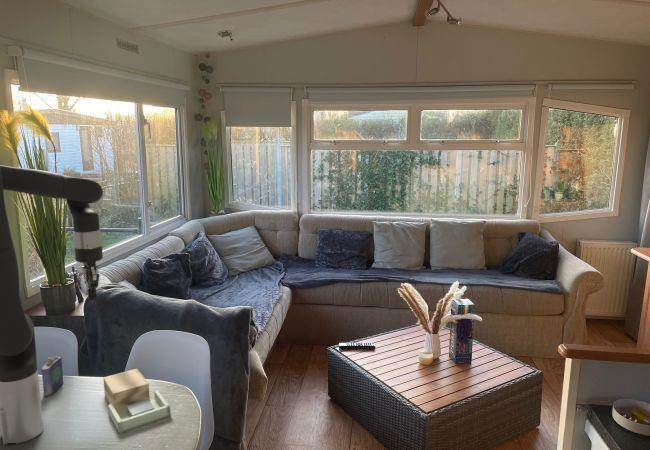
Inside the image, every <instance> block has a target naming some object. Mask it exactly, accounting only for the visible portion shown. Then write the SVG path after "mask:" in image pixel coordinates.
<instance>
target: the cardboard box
mask: <svg viewBox="0 0 650 450" xmlns="http://www.w3.org/2000/svg"><path fill="white" fill-rule="evenodd" d="M102 378H103V391H104V392H103V393H104V397H105V399H106V400H107V403H108V405H110V404H112V405H113V407H114V408H115V410H116V411H117V410H121V409H124V408H126V406H127V405H130V404H133V403H136V402H139V401H143V400H146V399H148V400H150V383H149V382H148V381H147V380H146V378H145V376H144V375H143V374H142V373H141V371H140V370H139V369H138V368H133V369H129V370H126V371H122V372H119V373H114V374H112V375H108V376H104V377H102Z"/></svg>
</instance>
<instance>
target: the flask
mask: <svg viewBox="0 0 650 450" xmlns="http://www.w3.org/2000/svg"><path fill="white" fill-rule="evenodd" d="M45 360H47V362H46V363H45V364H44V365H43V366H42V367H41V378H42V388H43V396H44V397H50V396H51V395H53V394H54V392H56V391H57V390H58V389H59V388H60V387H61V386H62V385H63V384H64V375H63V372H64V371H63V362H62V360H63V359H62V356H54V357H52V356H48V357H46V359H45Z"/></svg>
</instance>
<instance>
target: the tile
mask: <svg viewBox="0 0 650 450" xmlns="http://www.w3.org/2000/svg"><path fill="white" fill-rule="evenodd" d="M126 409H127V413H128V415H129V416H130V417H132V416H135V415H138V414H141V413H145V412H148V411H151V410H154V407H153V405H152V404H151V403H150V402H149V400H148V399H146V400H143V401H139V402H136V403H133V404H130V405H127V406H126Z"/></svg>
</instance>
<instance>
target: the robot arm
mask: <svg viewBox="0 0 650 450" xmlns="http://www.w3.org/2000/svg"><path fill="white" fill-rule="evenodd" d="M4 190H5V191H12V192H17V193H24V194H26V195H27V194H28V195H33V196H38V197H45V198H50V199H59V200H60V199H61V200H66V203H67V206H68V209H69V211H70V215H72V216H71V217H72V222H73V223H72V224H73V247H74V259H75V261H76V263H80V264H83V266H81V271H82V276H83V280H84V285H85V288H86V289H87V299H88V300H89V301H90V302H92V301H96V300H97V298H98V295H97V288H98V287H99V283H100V282H99V281H100V273H99V265H97V264H96V263H97V262H99V261H101V260H102V259H103V257H104V255H103V245H102V244H103V243H102V235H101V228H100V227H101V226H100V217H99V213H98V211H95V210H93V209H92V208H91V206H90V204H94V203H96V202H99V201H100V200H101V199H102V197H103V194H104V193H103V192H104V190H103V188H102V186H101V184H100V183H99V182H97V181H96V180H94V179H89V178H84V177H74V176H68V175H64V174H61V173H56V172H52V171H47V170H42V169H34V168H25V167H17V166H16V167H13V166H7V165H2V164H0V429H1V434H2V435H1V437H2V443H3V445H4V444H6V445H8V444H7V443H16V444H21V443H25V442H29V441H31V440H33V439H35V438H37V437H38V436H39V435H40V434H41V433H42V432H43V431H44V418H43V409H42V402H41V401H42V400H41V391H40V383H39V371H38V362H37V347H36V338H35V334H36V333H35V327H34V326H35V325H34V322H33V320H32V319H31V317H30V316H29V315H28V314H26V313H25V311H24V308H23V305H22V301H21V293H20V274H19V263H18V257H17V253H16V247H15V245H14V241H13V237H12V233H11V228H10V223H9V219H8V214H7V210H6V203H5V197H4V196H5V195H4Z"/></svg>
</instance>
